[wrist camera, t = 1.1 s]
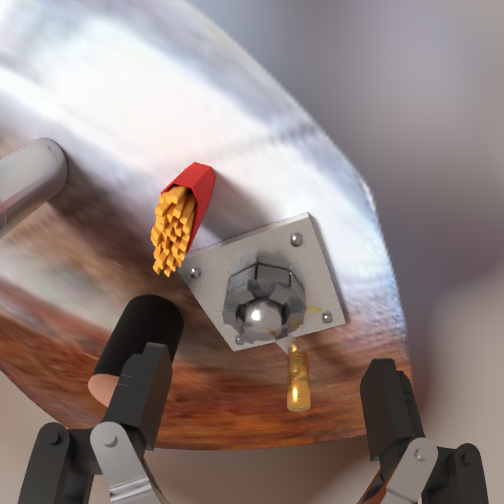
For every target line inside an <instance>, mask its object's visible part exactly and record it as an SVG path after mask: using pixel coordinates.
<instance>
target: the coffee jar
mask: <svg viewBox="0 0 504 504" xmlns="http://www.w3.org/2000/svg"><path fill="white" fill-rule="evenodd" d="M183 327H184V326H183V321H182V317H181V315H180V313H179V311H178V310H177V308H176V307H175V306H174V305H173V304H172V303H170V302H169V301H167V300H165V299H164V298H161V297H158V296H156V295H142V296H138V297H136V298H134V299H132V300H131V301H129V303H128V304H127V306H126V308H125V310H124V312H123V314H122V315H121V317H120V319H119V321H118V323H117V325H116V327H115V329H114V331H113V333H112V335H111V337H110V339H109V341H108V343H107V345H106V347H105V349H104V351H103V353H102V355H101V357H100V359H99V361H98V363H97V365H96V367H95V369H94V376H92V378H91V379H90V381H89V383H88V387H89V390H90V392H91V393H92V395H93V396H94V397H95V398H96V399H97V400H98V401H99V402H101V403H102V404H104V405H105V406H106V407H108V406H109V403H110V400H111V398H112V395H113V392H114V390H115V387H116V385H117V382H118V379H119V377H120V376H121V372H122V369H123V367H124V364H125V362H126V361H127V360H128V359H129V358H130V357H131V356H132V355H133V354H134V353H135V354H141V355H142V354H143V351H144V349H145V346H146V344H147V343H148V342H151V343H158V344H164V345H167V346H168V350H169V355H170V360H171V364H172V363H173V360H174V356H175V353H176V350H177V347H178V344H179V340H180V337H181V334H182V331H183Z"/></svg>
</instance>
